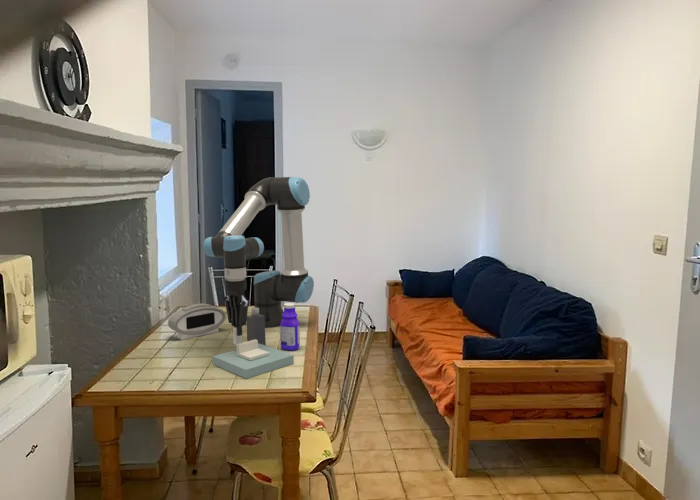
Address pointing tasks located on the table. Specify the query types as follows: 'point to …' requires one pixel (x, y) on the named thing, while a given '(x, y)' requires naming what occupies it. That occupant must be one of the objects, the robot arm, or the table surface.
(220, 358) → the socket plate
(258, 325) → the plug
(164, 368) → the table surface
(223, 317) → the alarm clock
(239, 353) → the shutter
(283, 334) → the bottle
